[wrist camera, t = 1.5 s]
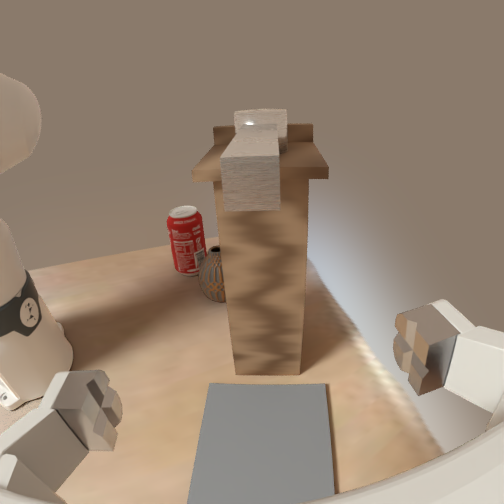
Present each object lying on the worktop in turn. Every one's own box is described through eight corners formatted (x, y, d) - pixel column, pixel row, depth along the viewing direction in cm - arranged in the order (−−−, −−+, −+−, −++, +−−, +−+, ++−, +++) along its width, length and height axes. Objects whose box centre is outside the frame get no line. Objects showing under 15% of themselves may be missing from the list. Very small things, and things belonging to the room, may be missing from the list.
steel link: (206, 212, 18) (198, 140, 16) (239, 146, 33) (236, 110, 31) (299, 209, 17) (298, 135, 15) (286, 145, 33) (285, 108, 31)
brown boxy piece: (223, 380, 38) (188, 147, 25) (233, 318, 49) (214, 126, 35) (311, 380, 38) (329, 142, 24) (306, 318, 48) (311, 123, 34)
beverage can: (199, 257, 66) (191, 201, 60) (214, 270, 61) (206, 211, 55) (171, 267, 63) (160, 210, 57) (183, 282, 58) (172, 221, 52)
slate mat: (182, 537, 20) (181, 536, 20) (210, 385, 38) (209, 383, 37) (335, 542, 19) (336, 541, 19) (324, 386, 37) (325, 383, 36)
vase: (238, 280, 58) (234, 236, 54) (246, 303, 52) (243, 256, 48) (200, 286, 57) (192, 242, 52) (204, 311, 51) (196, 263, 46)
